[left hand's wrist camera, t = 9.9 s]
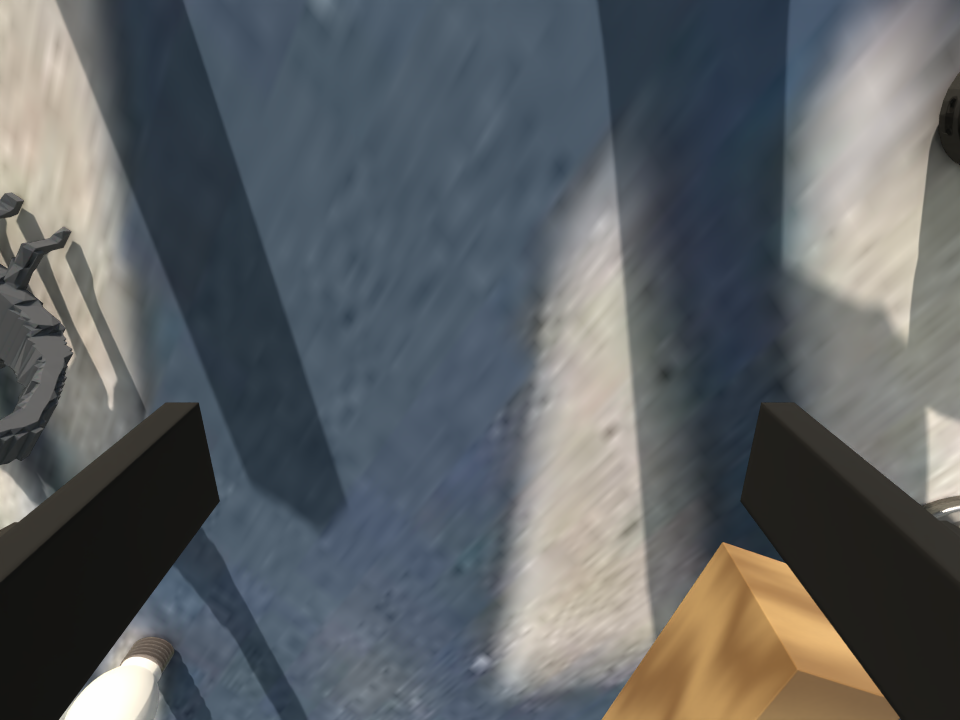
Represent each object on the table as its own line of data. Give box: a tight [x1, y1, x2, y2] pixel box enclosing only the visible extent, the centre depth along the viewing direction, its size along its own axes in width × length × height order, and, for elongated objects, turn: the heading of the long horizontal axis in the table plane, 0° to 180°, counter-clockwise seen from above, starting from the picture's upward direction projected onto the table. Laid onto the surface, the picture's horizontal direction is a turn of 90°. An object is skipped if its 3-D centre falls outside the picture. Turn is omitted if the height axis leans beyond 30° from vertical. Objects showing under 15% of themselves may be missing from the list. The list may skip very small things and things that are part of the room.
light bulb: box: [65, 637, 174, 720], centre depth 49 cm, size 7×7×11 cm
